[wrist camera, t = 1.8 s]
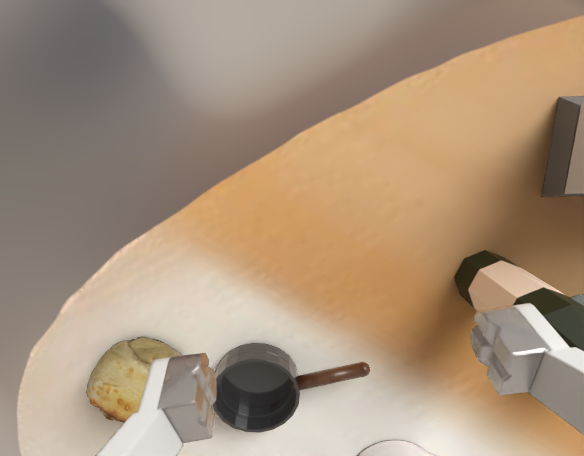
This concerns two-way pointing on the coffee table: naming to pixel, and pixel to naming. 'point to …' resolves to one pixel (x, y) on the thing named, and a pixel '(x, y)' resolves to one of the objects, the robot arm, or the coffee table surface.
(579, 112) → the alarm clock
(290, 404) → the pan
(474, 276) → the wine bottle
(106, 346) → the coffee table surface
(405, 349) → the coffee table surface
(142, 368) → the pastry
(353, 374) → the pan handle
